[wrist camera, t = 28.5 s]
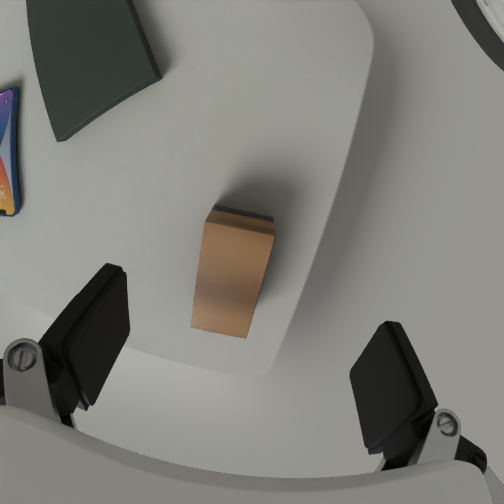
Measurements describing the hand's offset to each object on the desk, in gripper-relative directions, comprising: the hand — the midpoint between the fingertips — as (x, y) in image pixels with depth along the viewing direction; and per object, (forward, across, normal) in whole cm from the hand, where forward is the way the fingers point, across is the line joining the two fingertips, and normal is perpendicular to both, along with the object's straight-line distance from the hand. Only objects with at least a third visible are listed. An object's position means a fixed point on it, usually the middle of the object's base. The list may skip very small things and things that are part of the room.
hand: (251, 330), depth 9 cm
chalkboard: (+15, +21, -16) cm, 30 cm away
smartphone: (+14, +31, -1) cm, 34 cm away
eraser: (+14, +1, +6) cm, 16 cm away
